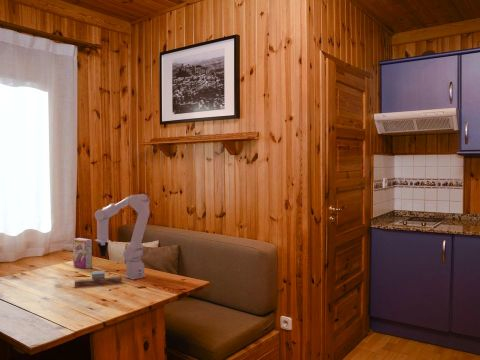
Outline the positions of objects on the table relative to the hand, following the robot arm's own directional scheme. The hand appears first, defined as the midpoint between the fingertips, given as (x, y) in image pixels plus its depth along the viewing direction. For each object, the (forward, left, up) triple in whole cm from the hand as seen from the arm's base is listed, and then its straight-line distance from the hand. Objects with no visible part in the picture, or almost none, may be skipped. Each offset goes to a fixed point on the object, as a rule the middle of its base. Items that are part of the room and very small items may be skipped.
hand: (103, 256), depth 232 cm
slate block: (-14, +12, -10) cm, 20 cm away
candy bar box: (+21, 0, -10) cm, 23 cm away
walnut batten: (-18, +14, -9) cm, 24 cm away
